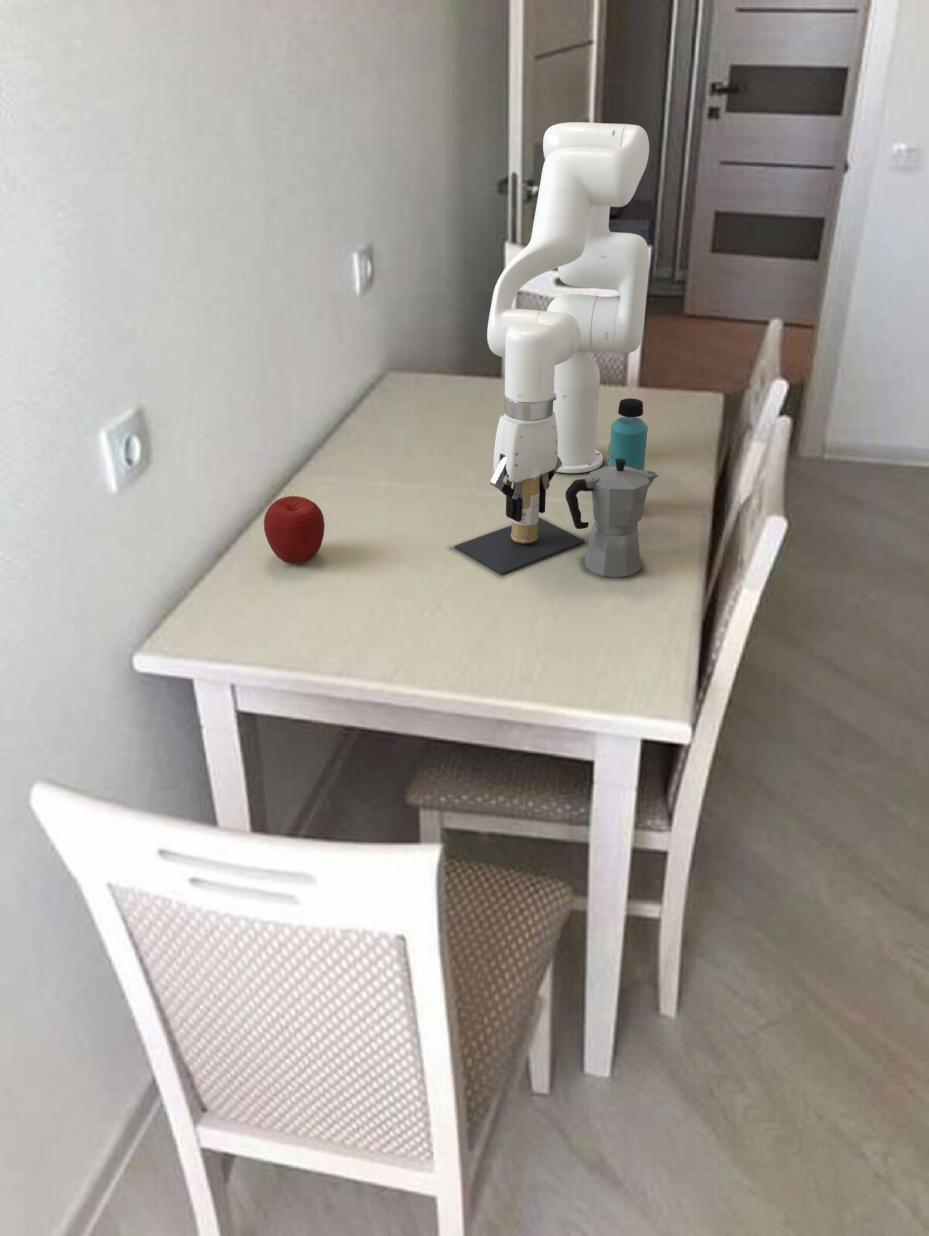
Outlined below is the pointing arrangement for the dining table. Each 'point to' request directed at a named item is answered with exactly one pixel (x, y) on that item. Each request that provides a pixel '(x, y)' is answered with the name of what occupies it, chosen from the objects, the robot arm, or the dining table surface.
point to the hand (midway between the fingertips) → (525, 513)
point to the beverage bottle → (629, 435)
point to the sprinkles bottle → (528, 510)
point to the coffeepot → (612, 517)
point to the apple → (294, 528)
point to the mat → (518, 547)
